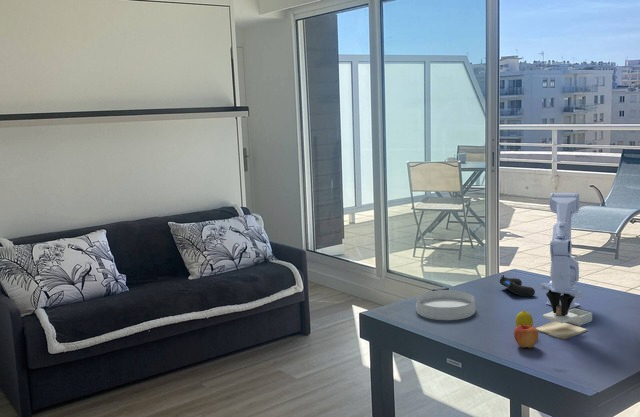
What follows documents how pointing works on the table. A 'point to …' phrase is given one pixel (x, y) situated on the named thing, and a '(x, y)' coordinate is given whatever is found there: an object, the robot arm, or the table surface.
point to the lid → (560, 315)
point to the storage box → (580, 316)
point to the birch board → (560, 329)
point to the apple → (526, 335)
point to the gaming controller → (516, 286)
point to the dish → (445, 305)
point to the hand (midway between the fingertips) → (560, 313)
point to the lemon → (524, 319)
